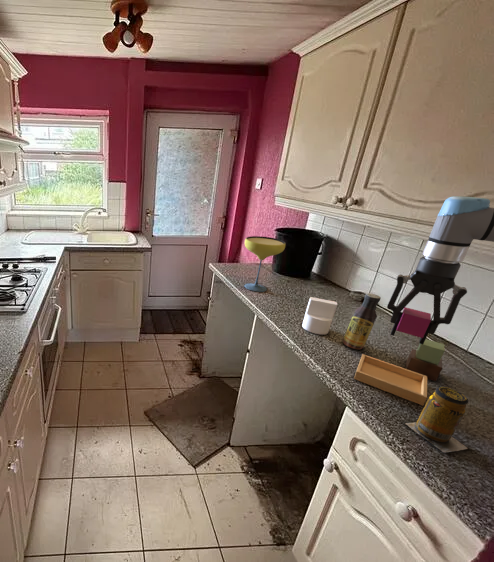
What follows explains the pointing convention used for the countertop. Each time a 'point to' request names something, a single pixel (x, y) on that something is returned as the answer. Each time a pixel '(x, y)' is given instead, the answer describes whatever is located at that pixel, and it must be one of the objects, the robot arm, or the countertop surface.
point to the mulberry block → (414, 322)
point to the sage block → (430, 351)
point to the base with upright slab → (319, 315)
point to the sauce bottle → (362, 322)
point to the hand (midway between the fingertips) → (406, 337)
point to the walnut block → (423, 366)
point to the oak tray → (392, 379)
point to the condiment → (441, 419)
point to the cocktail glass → (262, 254)
